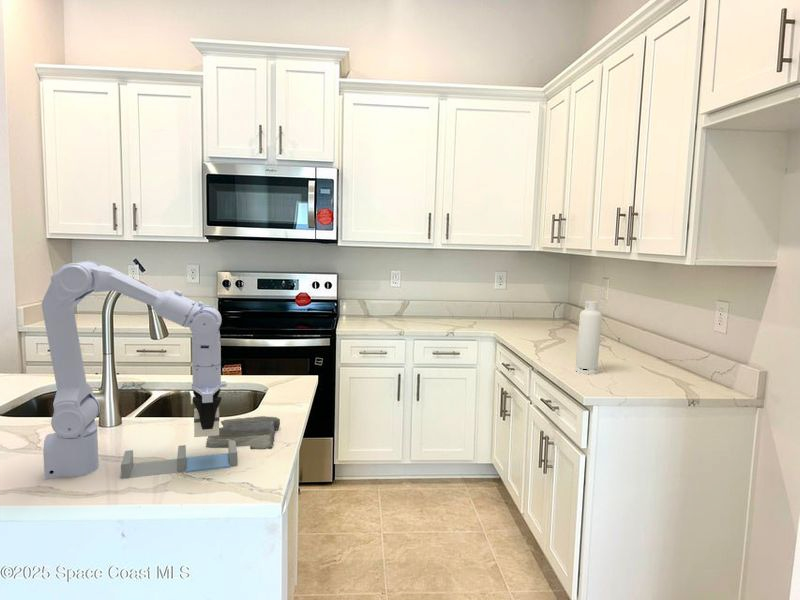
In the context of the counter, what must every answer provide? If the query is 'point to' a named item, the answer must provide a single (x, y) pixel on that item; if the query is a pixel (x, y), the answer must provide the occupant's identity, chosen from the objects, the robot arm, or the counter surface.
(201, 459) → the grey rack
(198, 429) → the block
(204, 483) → the counter surface
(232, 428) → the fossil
